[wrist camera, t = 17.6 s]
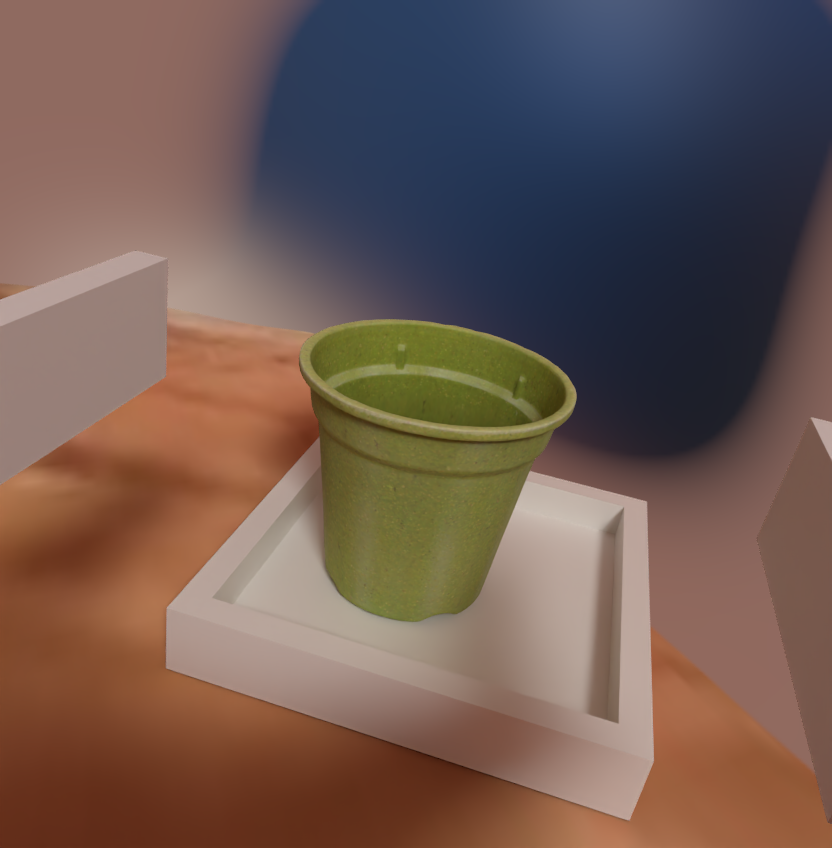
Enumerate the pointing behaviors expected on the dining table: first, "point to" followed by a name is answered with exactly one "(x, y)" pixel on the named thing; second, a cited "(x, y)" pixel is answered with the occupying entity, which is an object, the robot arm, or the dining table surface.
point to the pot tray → (449, 641)
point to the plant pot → (424, 455)
